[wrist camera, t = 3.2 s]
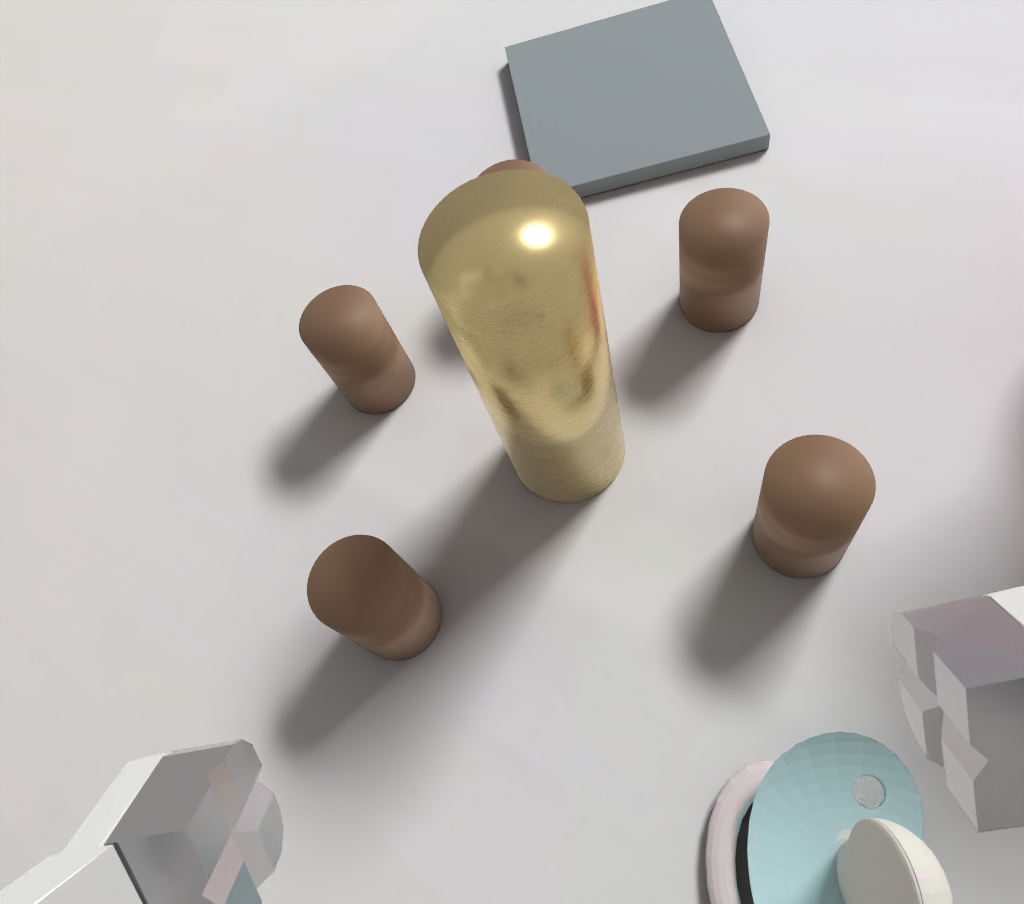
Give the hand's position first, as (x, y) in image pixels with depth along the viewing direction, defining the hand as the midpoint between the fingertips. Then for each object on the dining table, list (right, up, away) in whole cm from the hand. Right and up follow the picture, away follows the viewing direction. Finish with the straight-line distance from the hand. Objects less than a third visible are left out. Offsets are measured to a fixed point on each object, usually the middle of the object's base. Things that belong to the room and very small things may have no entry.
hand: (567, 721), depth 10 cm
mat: (+5, +20, +27) cm, 34 cm away
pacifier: (+8, -9, +13) cm, 17 cm away
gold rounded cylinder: (+1, +3, +20) cm, 20 cm away
